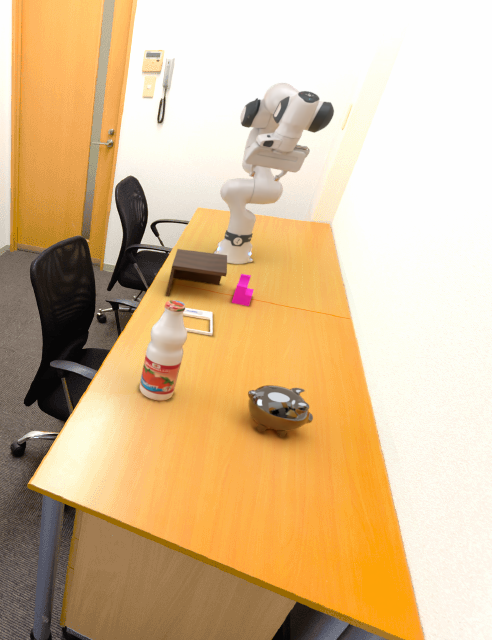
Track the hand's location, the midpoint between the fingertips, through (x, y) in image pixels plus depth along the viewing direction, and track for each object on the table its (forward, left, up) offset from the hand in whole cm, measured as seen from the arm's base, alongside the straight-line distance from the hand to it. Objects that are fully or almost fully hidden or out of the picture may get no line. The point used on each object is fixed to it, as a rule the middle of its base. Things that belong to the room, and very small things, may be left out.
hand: (263, 178), depth 167 cm
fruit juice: (+95, -20, -45) cm, 107 cm away
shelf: (+14, -15, -45) cm, 49 cm away
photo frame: (+45, -14, -45) cm, 65 cm away
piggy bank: (+98, +9, -45) cm, 109 cm away
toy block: (+14, +4, -45) cm, 47 cm away
